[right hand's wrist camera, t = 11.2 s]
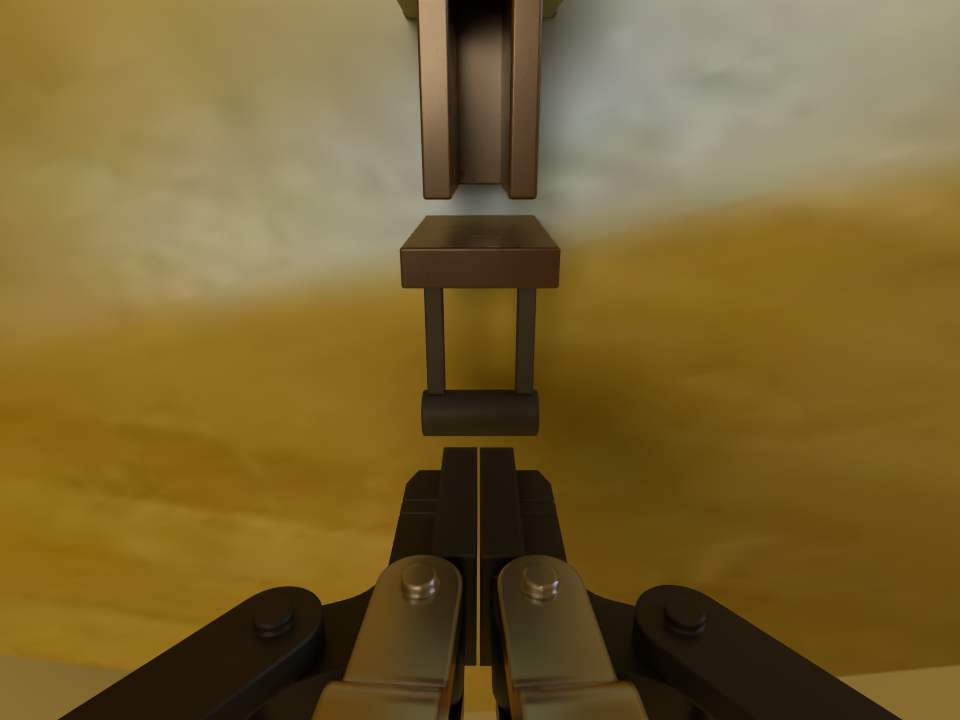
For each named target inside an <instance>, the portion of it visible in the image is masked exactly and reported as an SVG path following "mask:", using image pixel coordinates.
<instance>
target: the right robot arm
mask: <svg viewBox="0 0 960 720" xmlns="http://www.w3.org/2000/svg"><path fill="white" fill-rule="evenodd" d="M476 631H477V447H444V451H443V459H442V467H441V470H419V471H418V472H417V473H416V474H415V475H414V476H413V477H412V478H411V479H410V480H409V482H408V483H407V484H406V488H405V492H404V497H403V502H402V506H401V511H400V516H399V520H398V524H397V529H396V533H395V538H394V542H393V547H392V552H391V556H390V561H389V565H388V567H387V568H386V569H385V570H383V572H382V573H381V574H380V576H379V577H378V580H377V582H376V585H374V586H373V587H372V588H370V589H369V590H367V591H366V592H364V593H362V594H360V595H358V596H355V597H353V598H350V599H346V600H343V601H339V602H335V603H331V604H327V605H323V606H322V605H321V602H320V600H319V599H318V597H317V596H316V595H315V594H314V593H312V592H311V591H309V590H306V589H304V588H300V587H291V586H286V587H277V588H272V589H269V590H266V591H263V592H260V593H258V594H256V595H254V596H252V597H250V598H249V599H247V600H245V601H244V602H242V603H241V604H239V605H238V606H236V607H234V608H233V609H231V610H230V611H228V612H227V613H225V614H223V615H222V616H220V617H219V618H217V619H216V620H214V621H212V622H211V623H209V624H208V625H206V626H205V627H203V628H201V629H200V630H198V631H197V632H195V633H193V634H192V635H190V636H189V637H187V638H186V639H184V640H182V641H181V642H179V643H178V644H176V645H175V646H173V647H171V648H170V649H168V650H167V651H165V652H164V653H162V654H160V655H159V656H157V657H156V658H154V659H153V660H151V661H149V662H148V663H146V664H145V665H143V666H142V667H140V668H138V669H137V670H135V671H134V672H132V673H131V674H129V675H127V676H126V677H124V678H123V679H121V680H120V681H118V682H116V683H115V684H113V685H112V686H110V687H109V688H107V689H105V690H104V691H102V692H101V693H99V694H97V695H96V696H94V697H93V698H91V699H90V700H88V701H86V702H85V703H83V704H82V705H80V706H79V707H77V708H75V709H74V710H72V711H71V712H69V713H68V714H66V715H65V716H63V717H61V718H60V719H58V720H463V717H464V666H476ZM480 666H492V689H493V694H494V697H495V699H496V717H497V720H902V719H900V718H899V717H897V716H895V715H894V714H892V713H891V712H889V711H888V710H886V709H884V708H883V707H881V706H880V705H878V704H877V703H875V702H874V701H872V700H870V699H869V698H867V697H866V696H864V695H862V694H861V693H859V692H858V691H856V690H855V689H853V688H851V687H850V686H848V685H847V684H845V683H844V682H842V681H840V680H839V679H837V678H836V677H834V676H833V675H831V674H829V673H828V672H826V671H825V670H823V669H822V668H820V667H818V666H817V665H815V664H814V663H812V662H811V661H809V660H807V659H806V658H804V657H803V656H801V655H800V654H798V653H796V652H795V651H793V650H792V649H790V648H789V647H787V646H785V645H784V644H782V643H781V642H779V641H778V640H776V639H774V638H773V637H771V636H770V635H768V634H766V633H765V632H763V631H762V630H760V629H759V628H757V627H755V626H754V625H752V624H751V623H749V622H748V621H746V620H744V619H743V618H741V617H740V616H738V615H737V614H735V613H733V612H732V611H730V610H729V609H727V608H726V607H724V606H722V605H721V604H719V603H718V602H716V601H715V600H713V599H711V598H710V597H708V596H706V595H705V594H703V593H701V592H698V591H696V590H693V589H690V588H687V587H683V586H677V585H662V586H656V587H653V588H650V589H648V590H647V591H645V592H644V593H643V594H642V595H641V596H640V597H639V598H638V600H637V603H636V606H632V605H628V604H624V603H620V602H616V601H612V600H609V599H606V598H603V597H600V596H598V595H595V594H594V593H592V592H590V591H588V590H587V589H586V588H585V585H584V582H583V580H582V577H581V576H580V574H579V573H578V572H577V570H575V569H574V568H573V567H572V566H571V565H569V564H568V563H567V559H566V555H565V550H564V545H563V541H562V536H561V531H560V526H559V522H558V517H557V512H556V507H555V503H554V498H553V493H552V488H551V484H550V483H549V482H548V481H547V480H546V478H545V477H544V476H543V475H542V474H541V473H540V472H539V471H538V470H516V468H515V459H514V450H513V448H480Z"/></svg>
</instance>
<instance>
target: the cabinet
mask: <svg viewBox="0 0 960 720" xmlns="http://www.w3.org/2000/svg"><path fill="white" fill-rule="evenodd" d="M397 1H398V3H399V5H400V7H401V8H402V10H403V14H404V16H405V18H413V17H417V0H397ZM562 1H563V0H543V17H551V18H554V17H555V16H556V14H557V10H558V8H559V6H560V4H561V3H562Z"/></svg>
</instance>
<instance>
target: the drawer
mask: <svg viewBox="0 0 960 720" xmlns="http://www.w3.org/2000/svg"><path fill="white" fill-rule="evenodd" d="M542 17H543V0H417V28H418V57H419V87H420V116H421V145H422V174H423V197H424V199H426V200H430V199H451V198H452V196H453V194H454V193H455V191H456V189H457V188H458V186H459V184H501V185H502V186H503V188H504V190H505V192H506V193H507V195H508V197H509V198H510V199H535V198H536V196H537V172H538V141H539V110H540V79H541V48H542ZM400 264H401V284H402V288H424V302H425V330H426V358H427V386H428V390H424V391H423V395H422V407H421V422H422V433H423V435H424V436H537V434H538V430H539V398H538V392H537V390H533V372H534V342H535V313H536V288H558V286H559V269H560V248H559V246H558V245H557V244H556V243H555V241H554V240H553V239H552V238H551V236H550V235H549V234H548V233H547V231H546V230H545V229H544V228H543V226H542V225H541V224H540V223H539V221H538V220H537V219H536V218H535V216H533V215H465V216H426V217H425V218H424V219H423V221H422V222H421V223H420V224H419V226H418V227H417V228H416V229H415V231H414V232H413V233H412V234H411V236H410V237H409V238H408V239H407V241H406V242H405V243H404V244H403V246H402V247H401V248H400ZM443 288H517V320H516V365H515V390H445V388H446V386H445V345H444V303H443Z"/></svg>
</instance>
